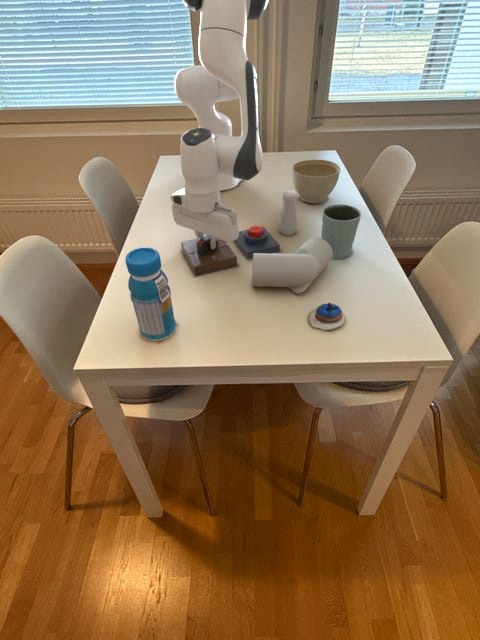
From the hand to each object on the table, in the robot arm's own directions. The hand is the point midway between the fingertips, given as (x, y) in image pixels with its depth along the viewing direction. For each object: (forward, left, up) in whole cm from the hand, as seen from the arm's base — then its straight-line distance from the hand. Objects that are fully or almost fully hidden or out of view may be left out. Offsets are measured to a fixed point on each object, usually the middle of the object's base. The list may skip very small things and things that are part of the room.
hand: (207, 246), depth 111 cm
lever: (0, 0, -1) cm, 1 cm away
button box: (-1, +15, -4) cm, 16 cm away
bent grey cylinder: (+18, +16, -4) cm, 24 cm away
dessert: (+36, +17, -4) cm, 40 cm away
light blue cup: (+11, +35, -4) cm, 37 cm away
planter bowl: (-22, +46, -4) cm, 51 cm away
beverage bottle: (+24, -20, -4) cm, 32 cm away
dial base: (0, 0, -4) cm, 4 cm away
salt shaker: (-4, +27, -4) cm, 28 cm away
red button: (-1, +15, 0) cm, 15 cm away
